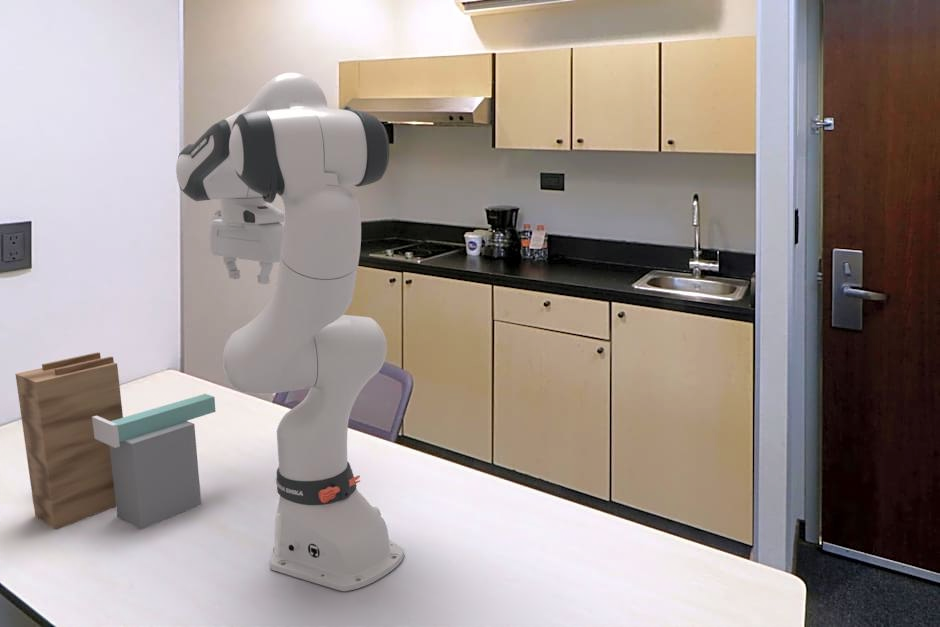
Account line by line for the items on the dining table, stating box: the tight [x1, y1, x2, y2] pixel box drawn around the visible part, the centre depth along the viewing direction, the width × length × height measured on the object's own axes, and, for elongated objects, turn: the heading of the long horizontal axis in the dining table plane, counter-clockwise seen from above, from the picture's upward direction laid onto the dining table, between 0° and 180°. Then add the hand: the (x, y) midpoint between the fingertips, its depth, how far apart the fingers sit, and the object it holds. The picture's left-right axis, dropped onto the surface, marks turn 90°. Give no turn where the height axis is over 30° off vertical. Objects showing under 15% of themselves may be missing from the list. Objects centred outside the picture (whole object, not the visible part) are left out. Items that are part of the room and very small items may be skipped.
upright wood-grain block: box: [15, 352, 124, 530], centre depth 137 cm, size 8×14×28 cm, turn 143°
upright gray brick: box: [109, 420, 202, 530], centre depth 137 cm, size 8×12×16 cm, turn 143°
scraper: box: [92, 393, 217, 448], centre depth 137 cm, size 7×21×4 cm, turn 143°
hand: (248, 281), depth 152 cm, fingers open, 8 cm apart
